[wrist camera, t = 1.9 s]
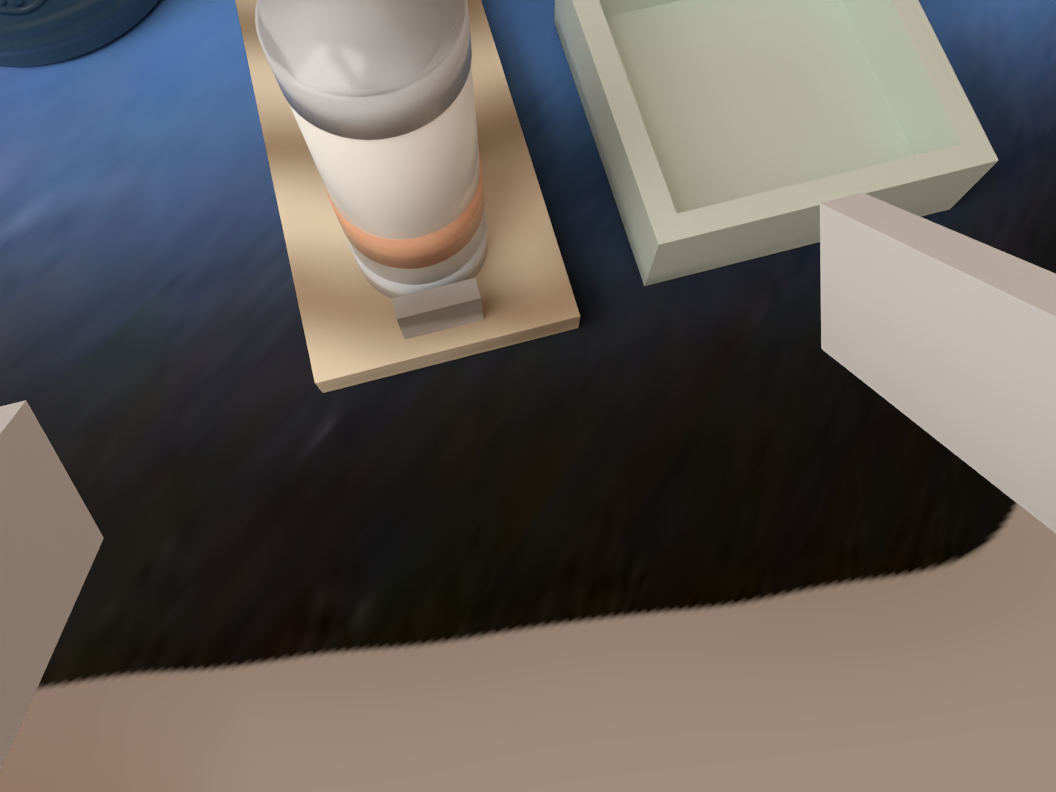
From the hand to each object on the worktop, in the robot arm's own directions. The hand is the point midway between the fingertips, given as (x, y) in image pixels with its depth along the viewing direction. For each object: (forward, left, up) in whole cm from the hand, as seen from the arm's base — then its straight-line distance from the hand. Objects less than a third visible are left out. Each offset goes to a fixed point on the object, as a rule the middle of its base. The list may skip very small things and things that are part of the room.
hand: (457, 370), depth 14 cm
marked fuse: (-11, 0, -15) cm, 19 cm away
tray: (-14, +14, -16) cm, 26 cm away
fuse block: (-16, 0, -16) cm, 23 cm away
